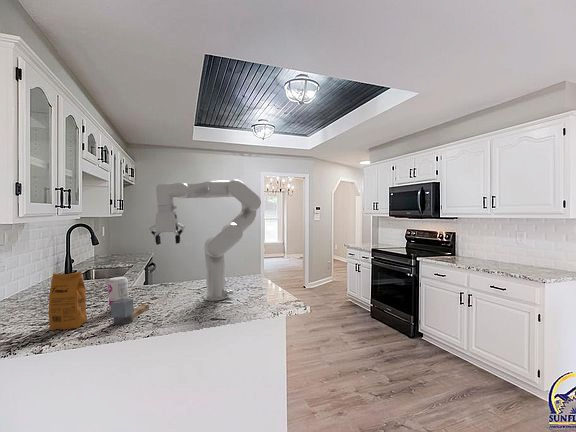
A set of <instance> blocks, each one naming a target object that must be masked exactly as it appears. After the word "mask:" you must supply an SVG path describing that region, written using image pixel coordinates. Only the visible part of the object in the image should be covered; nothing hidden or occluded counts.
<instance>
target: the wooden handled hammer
mask: <svg viewBox="0 0 576 432" xmlns="http://www.w3.org/2000/svg"><path fill="white" fill-rule="evenodd" d="M149 309H150V306H149V304H140V305H138V306H137V307H134V313H132V314H131V315H129V316H127V317H126V318H113V325H114V326H124V324H125V325H129V324H131V323H132V322H133V320H134V319H135V318H137V317H138V316H140V315H142V314H143V313H144V311H145V312H146V311H148V310H149ZM136 316H137V317H136ZM130 322H131V323H130Z"/></svg>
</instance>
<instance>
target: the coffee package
mask: <svg viewBox="0 0 576 432" xmlns="http://www.w3.org/2000/svg"><path fill="white" fill-rule="evenodd" d="M86 291H87V289H86V285H85V281H84V279H83V273H82V272H81V271H77V272H71V273H67V274H66V273H63V274H62V273H55V272H54V273H53V275H52V279H51V282H50V289H49V295H48V323H49V331H50V330H52V331H57V330H61V331H66V330H65V329H68V330H73V328H74V329H78V328H80V327H81V326H82V325H83V324H84V323H86V322H87V321H88V316H87V309H86V308H87V307H86V306H87V302H86V301H87V298H86V294H87V293H86ZM56 329H57V330H56ZM62 329H63V330H62Z"/></svg>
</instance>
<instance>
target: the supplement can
mask: <svg viewBox="0 0 576 432" xmlns="http://www.w3.org/2000/svg"><path fill="white" fill-rule="evenodd" d="M107 286H108V288H107V289H108V305H109V306H108V307H109V308H108V309H109V311H110V312H111V303H112V302H114V301H116V300H118V299H130V296H129V280H128V278H127V276H115V277H112V278H109V280H108V282H107Z"/></svg>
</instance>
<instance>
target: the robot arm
mask: <svg viewBox="0 0 576 432" xmlns="http://www.w3.org/2000/svg"><path fill="white" fill-rule="evenodd" d="M155 195H156V197H155V198H156V208H157V212H156V213H155V221H154V222H155V223H154V224H153V225H152V226H150V227H149V231H150V233H151V234H152V235H153V237H155V238H154V239H155V240H154V241H155V243H156V246H157V245H161V243H162V242H161V236H160V235H161V233H172V232H173V233H174V234H175V244H176V245H177V244H180V243H181V234H182V233H183V232H184V230H185V227H186V226H185V225H183V224H181V223H179V220H178V219H179V218H178V214H177V211H175V210H177V206H176V205H174V198H176V199H177V198H178V199H198V198H200V199H210V198H211V199H213V198H235V199H236V200H237V201H239V203H240V204H241V211H240V212H239V213H238V214H237V215H236V216H235V217H234V218H233V219H231V220H229V222H228V223H226V224H225V225H224V226H223V227H222V228H221V231H220V232H219V233H218V234H217V235H214V236H213V235H212V236H210V237H208V238H207V239H206V240H205V242H204V248H203V249H204V259H205V260H204V261H205V262H204V263H205V279H206V282H205V283H206V294H204V295H203V299H204V300H205V301H209V302H217V301H222V300H225V299H228V298H229V296H230V295H234V294H235V293H234V292H235V291H234V290H233V289H228V287H226V271H225V269H226V268H225V267H226V263H225V254H226V253H227V252H228V251H230V250H231V249H232V248H233V247H234V246H236V245H237V244H238V243H239V242H240V241H241V239H242V238H243V234H244V232H245V231H246V230H248V228H249V227H250V226H251V225H252V224H253V223H254V221H255V219H256V217H257V210H259V209H260V207H261V205H262V201H261V198H260V196H259V195H258V194H256V192H254V191H253V190H252V189H251V188H250V187H248V186H247V185H246V184H245V183H244V182H243V181H242V180H240V179H230V180H209V181H204V182H198V183H185V182H182V181H181V182H174V183H157V184H156V186H155Z"/></svg>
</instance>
